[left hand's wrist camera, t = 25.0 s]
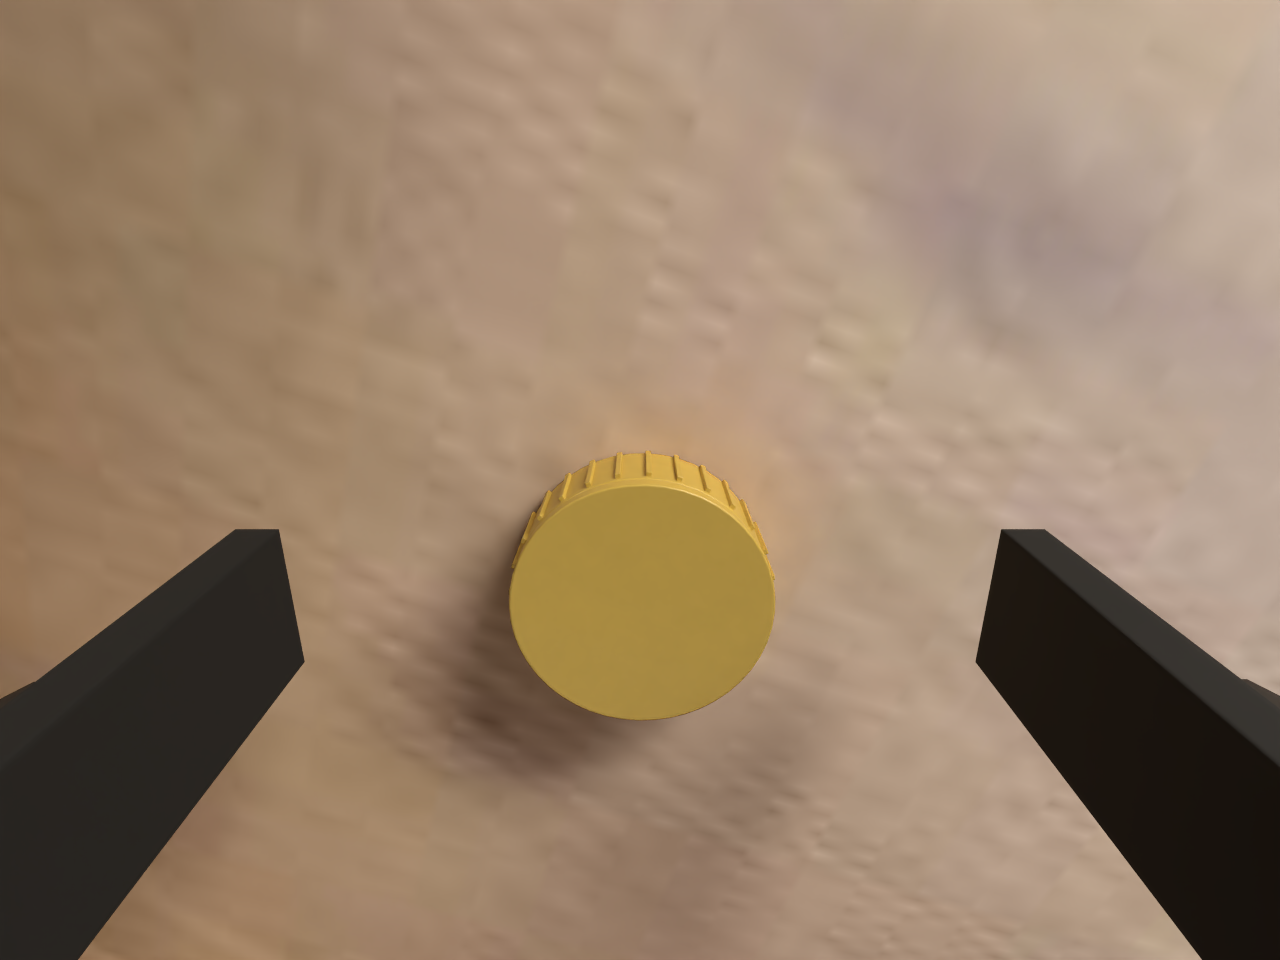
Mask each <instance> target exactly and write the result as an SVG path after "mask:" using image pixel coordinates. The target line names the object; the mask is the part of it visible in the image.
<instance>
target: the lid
mask: <svg viewBox="0 0 1280 960" xmlns="http://www.w3.org/2000/svg"><path fill="white" fill-rule="evenodd" d="M766 554H768V551H767V548H766V546H765V543H764V541H763V538H762V536H761V533H760V531H759V529H758V526H757V524H756V522H753V521H752V519H751V516H750V514H749V511H748V509H747V506H746V503H745V502H744V500H743V499H742V500H740V501H739V499H738V498H737V497H736V496H735V495H734V493H733V492H732V491H731V490H730V488H729V485H728V483H727V482H726V481H725V480H723V481H722V482H721V481H720V480H719V479H718V478H716V477H715V476H713V475H712V474H710V473H709V472H708V471H706V468H705V466H703V465H700V467H698V466H696V465H694V464H692V463H689V462H686V461H684V460H681V459H679V456H677V455H674V457H669V456H665V455H658V454H651V451H646V453H641V454H626V455H622V452H620V453H617V456H613V457H610V458H607V459H603V460H600V461H597V462H595V460H592V461H590V463H589V465H588V466H586V467H583V468H582V469H580V470H578V471H577V472H575V473H573V474H572V475H571V474H570V473H568V474H566V476H565V479H564V481H563V482H561V483H560V484H559V485H558V486H557V487H556V488H555V489H554V490H553V491H552V492H550V491H549V490H548V491H547V492H546V494H545V497H544V500H543V502H542V505H541V506H540V508H539V509H538V511H537V513H535V512H532V514H531V517H530V519H529V522H528V524H527V527H526V529H525V532H524V535H523V537H522V540H521V543H520V545H519V548H518V550H517V553H516V556H515V558H514V561H513V563H512V567H511V568H513V569H514V572H513V574H512V580H511V585H510V589H509V611H510V620H511V625H512V628H513V632H514V636H515V638H516V641H517V643H518V646H519V648H520V650H521V652H522V654H523V655H524V657H525V659H526V661H527V662H528V664H529V665H530V666H531V668H532V669H533V670H534V672H535V673H536V674H537V675H538V677H540V678H541V679H542V680H543V681H544V682H545V683H546V684H547V685H548V686H549V687H550V688H551V689H552V690H554V691H555V692H556V693H558V694H559V695H560V696H562V697H563V698H565V699H567V700H568V701H570V702H572V703H574V704H575V705H577V706H580V707H582V708H584V709H586V710H589V711H591V712H594V713H598V714H601V715H604V716H608V717H613V718H619V719H627V720H658V719H665V718H671V717H675V716H679V715H683V714H687V713H690V712H692V711H695V710H698V709H700V708H702V707H704V706H706V705H708V704H710V703H712V702H714V701H716V700H717V699H719V698H720V697H722V696H723V695H725V694H726V693H728V692H729V691H730V690H732V689H733V688H734V687H735V686H736V685H737V684H738V683H740V682H741V681H742V680H743V678H744V677H745V676H746V675H747V674H748V673H749V672H750V671H751V669H752V668H753V666H754V665H755V664H756V662H757V661H758V659H759V658H760V656H761V654H762V652H763V650H764V648H765V646H766V644H767V641H768V638H769V635H770V632H771V629H772V625H773V620H774V614H775V591H774V583H773V580H775V578H774V574H773V571H772V569H771V566H770V564H769V561H768V558H767V556H766Z"/></svg>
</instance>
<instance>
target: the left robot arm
mask: <svg viewBox="0 0 1280 960" xmlns="http://www.w3.org/2000/svg"><path fill="white" fill-rule="evenodd" d="M303 663H304V657H303V651H302V646H301V641H300V636H299V631H298V626H297V621H296V616H295V610H294V605H293V600H292V595H291V590H290V585H289V580H288V574H287V569H286V564H285V559H284V554H283V549H282V544H281V538H280V533H279V529H235V530H234V531H233V532H231V533H230V534H229V535H227V536H226V537H225V538H223V539H222V540H221V541H220V542H218V543H217V544H216V545H214V546H213V547H212V548H210V549H209V550H208V551H206V552H205V553H204V554H202V555H201V556H200V557H199V558H197V559H196V560H195V561H193V562H192V563H191V564H189V565H188V566H187V567H185V568H184V569H183V570H181V571H180V572H179V573H178V574H176V575H175V576H174V577H172V578H171V579H170V580H168V581H167V582H166V583H164V584H163V585H162V586H161V587H159V588H158V589H157V590H155V591H154V592H153V593H151V594H150V595H149V596H147V597H146V598H145V599H143V600H142V601H141V602H140V603H138V604H137V605H136V606H134V607H133V608H132V609H130V610H129V611H128V612H126V613H125V614H124V615H122V616H121V617H120V618H119V619H117V620H116V621H115V622H113V623H112V624H111V625H109V626H108V627H107V628H105V629H104V630H103V631H102V632H100V633H99V634H98V635H96V636H95V637H94V638H92V639H91V640H90V641H88V642H87V643H86V644H84V645H83V646H82V647H81V648H79V649H78V650H77V651H75V652H74V653H73V654H71V655H70V656H69V657H67V658H66V659H65V660H63V661H62V662H61V663H60V664H58V665H57V666H56V667H54V668H53V669H52V670H50V671H49V672H48V673H46V674H45V675H44V676H42V677H41V678H40V679H39V680H37V681H36V682H33V683H31V684H29V685H27V686H25V687H23V688H21V689H19V690H17V691H15V692H13V693H11V694H9V695H7V696H5V697H3V698H1V699H0V960H78V959H79V958H80V956H81V955H82V954H83V952H84V951H85V950H86V948H87V947H88V946H89V944H90V943H91V942H92V940H93V939H94V938H95V937H96V935H97V934H98V933H99V931H100V930H101V929H102V927H103V926H104V925H105V923H106V922H107V921H108V919H109V918H110V917H111V916H112V914H113V913H114V912H115V910H116V909H117V908H118V906H119V905H120V904H121V902H122V901H123V900H124V898H125V897H126V896H127V894H128V893H129V892H130V891H131V889H132V888H133V887H134V885H135V884H136V883H137V881H138V880H139V879H140V877H141V876H142V875H143V873H144V872H145V871H146V870H147V868H148V867H149V866H150V864H151V863H152V862H153V860H154V859H155V858H156V856H157V855H158V854H159V852H160V851H161V850H162V848H163V847H164V846H165V845H166V843H167V842H168V841H169V839H170V838H171V837H172V835H173V834H174V833H175V831H176V830H177V829H178V827H179V826H180V825H181V824H182V822H183V821H184V820H185V818H186V817H187V816H188V814H189V813H190V812H191V810H192V809H193V808H194V806H195V805H196V804H197V802H198V801H199V800H200V799H201V797H202V796H203V795H204V793H205V792H206V791H207V789H208V788H209V787H210V785H211V784H212V783H213V781H214V780H215V779H216V777H217V776H218V775H219V774H220V772H221V771H222V770H223V768H224V767H225V766H226V764H227V763H228V762H229V760H230V759H231V758H232V756H233V755H234V754H235V753H236V751H237V750H238V749H239V747H240V746H241V745H242V743H243V742H244V741H245V739H246V738H247V737H248V735H249V734H250V733H251V731H252V730H253V729H254V728H255V726H256V725H257V724H258V722H259V721H260V720H261V718H262V717H263V716H264V714H265V713H266V712H267V710H268V709H269V708H270V707H271V705H272V704H273V703H274V701H275V700H276V699H277V697H278V696H279V695H280V693H281V692H282V691H283V689H284V688H285V687H286V685H287V684H288V683H289V682H290V680H291V679H292V678H293V676H294V675H295V674H296V672H297V671H298V670H299V668H300V667H301V666H302V664H303ZM976 663H977V664H978V666H979V667H980V668H981V670H982V671H983V672H984V674H985V675H986V676H987V678H988V679H989V680H990V682H991V683H992V684H993V685H994V687H995V688H996V689H997V691H998V692H999V693H1000V695H1001V696H1002V697H1003V699H1004V700H1005V701H1006V703H1007V704H1008V705H1009V706H1010V708H1011V709H1012V710H1013V712H1014V713H1015V714H1016V716H1017V717H1018V718H1019V720H1020V721H1021V722H1022V724H1023V725H1024V726H1025V728H1026V729H1027V730H1028V731H1029V733H1030V734H1031V735H1032V737H1033V738H1034V739H1035V741H1036V742H1037V743H1038V745H1039V746H1040V747H1041V749H1042V750H1043V751H1044V752H1045V754H1046V755H1047V756H1048V758H1049V759H1050V760H1051V762H1052V763H1053V764H1054V766H1055V767H1056V768H1057V770H1058V771H1059V772H1060V774H1061V775H1062V776H1063V777H1064V779H1065V780H1066V781H1067V783H1068V784H1069V785H1070V787H1071V788H1072V789H1073V791H1074V792H1075V793H1076V795H1077V796H1078V797H1079V798H1080V800H1081V801H1082V802H1083V804H1084V805H1085V806H1086V808H1087V809H1088V810H1089V812H1090V813H1091V814H1092V816H1093V817H1094V818H1095V820H1096V821H1097V822H1098V823H1099V825H1100V826H1101V827H1102V829H1103V830H1104V831H1105V833H1106V834H1107V835H1108V837H1109V838H1110V839H1111V841H1112V842H1113V843H1114V844H1115V846H1116V847H1117V848H1118V850H1119V851H1120V852H1121V854H1122V855H1123V856H1124V858H1125V859H1126V860H1127V862H1128V863H1129V864H1130V866H1131V867H1132V868H1133V869H1134V871H1135V872H1136V873H1137V875H1138V876H1139V877H1140V879H1141V880H1142V881H1143V883H1144V884H1145V885H1146V887H1147V888H1148V889H1149V890H1150V892H1151V893H1152V894H1153V896H1154V897H1155V898H1156V900H1157V901H1158V902H1159V904H1160V905H1161V906H1162V908H1163V909H1164V910H1165V912H1166V913H1167V914H1168V915H1169V917H1170V918H1171V919H1172V921H1173V922H1174V923H1175V925H1176V926H1177V927H1178V929H1179V930H1180V931H1181V933H1182V934H1183V935H1184V936H1185V938H1186V939H1187V940H1188V942H1189V943H1190V944H1191V946H1192V947H1193V948H1194V950H1195V951H1196V952H1197V954H1198V955H1199V956H1200V958H1201V959H1202V960H1280V696H1279V695H1277V694H1275V693H1273V692H1271V691H1269V690H1267V689H1265V688H1263V687H1261V686H1259V685H1257V684H1255V683H1253V682H1251V681H1249V680H1247V679H1240V678H1239V677H1238V676H1236V675H1235V674H1234V673H1232V672H1231V671H1230V670H1228V669H1227V668H1226V667H1224V666H1223V665H1222V664H1220V663H1219V662H1218V661H1217V660H1215V659H1214V658H1213V657H1211V656H1210V655H1209V654H1207V653H1206V652H1205V651H1203V650H1202V649H1201V648H1200V647H1198V646H1197V645H1196V644H1194V643H1193V642H1192V641H1190V640H1189V639H1188V638H1186V637H1185V636H1184V635H1182V634H1181V633H1180V632H1179V631H1177V630H1176V629H1175V628H1173V627H1172V626H1171V625H1169V624H1168V623H1167V622H1165V621H1164V620H1163V619H1161V618H1160V617H1159V616H1158V615H1156V614H1155V613H1154V612H1152V611H1151V610H1150V609H1148V608H1147V607H1146V606H1144V605H1143V604H1142V603H1141V602H1139V601H1138V600H1137V599H1135V598H1134V597H1133V596H1131V595H1130V594H1129V593H1127V592H1126V591H1125V590H1123V589H1122V588H1121V587H1120V586H1118V585H1117V584H1116V583H1114V582H1113V581H1112V580H1110V579H1109V578H1108V577H1106V576H1105V575H1104V574H1102V573H1101V572H1100V571H1099V570H1097V569H1096V568H1095V567H1093V566H1092V565H1091V564H1089V563H1088V562H1087V561H1085V560H1084V559H1083V558H1081V557H1080V556H1079V555H1078V554H1076V553H1075V552H1074V551H1072V550H1071V549H1070V548H1068V547H1067V546H1066V545H1064V544H1063V543H1062V542H1061V541H1059V540H1058V539H1057V538H1055V537H1054V536H1053V535H1051V534H1050V533H1049V532H1047V531H1046V530H1045V529H1001V534H1000V539H999V544H998V549H997V554H996V559H995V564H994V569H993V575H992V580H991V585H990V590H989V595H988V600H987V605H986V611H985V616H984V621H983V626H982V631H981V636H980V641H979V647H978V652H977V657H976Z"/></svg>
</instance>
